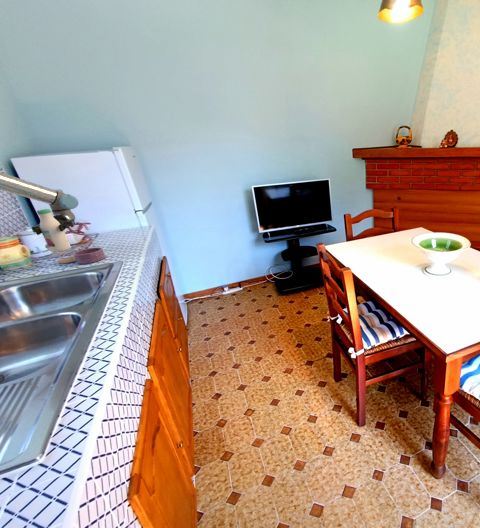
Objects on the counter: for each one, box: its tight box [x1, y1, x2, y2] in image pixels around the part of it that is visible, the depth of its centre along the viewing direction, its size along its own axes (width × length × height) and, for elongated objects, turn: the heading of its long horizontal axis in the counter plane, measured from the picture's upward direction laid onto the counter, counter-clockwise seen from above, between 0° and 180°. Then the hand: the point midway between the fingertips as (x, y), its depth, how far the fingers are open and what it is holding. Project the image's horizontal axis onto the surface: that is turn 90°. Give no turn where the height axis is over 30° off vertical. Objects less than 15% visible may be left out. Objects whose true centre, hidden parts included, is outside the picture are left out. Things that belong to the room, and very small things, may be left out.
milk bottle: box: [36, 208, 72, 253], centre depth 144 cm, size 8×8×20 cm
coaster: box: [57, 255, 76, 265], centre depth 155 cm, size 11×11×1 cm
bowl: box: [72, 246, 106, 265], centre depth 152 cm, size 12×12×5 cm
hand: (48, 230), depth 140 cm, fingers closed on milk bottle, 8 cm apart
